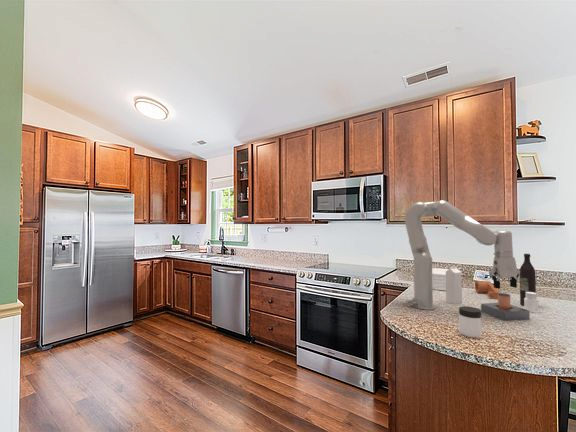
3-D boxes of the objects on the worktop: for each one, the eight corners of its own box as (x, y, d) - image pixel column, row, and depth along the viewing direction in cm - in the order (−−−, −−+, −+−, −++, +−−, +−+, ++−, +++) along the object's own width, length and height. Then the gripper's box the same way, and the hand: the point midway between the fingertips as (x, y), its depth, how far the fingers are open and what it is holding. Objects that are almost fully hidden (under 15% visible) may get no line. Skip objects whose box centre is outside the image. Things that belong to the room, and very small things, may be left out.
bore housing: (504, 322, 137) (504, 311, 137) (481, 312, 151) (481, 303, 151) (529, 320, 139) (529, 310, 139) (504, 311, 153) (504, 302, 153)
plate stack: (468, 287, 210) (468, 271, 210) (449, 292, 194) (449, 276, 195) (431, 280, 233) (431, 266, 234) (412, 285, 218) (412, 270, 218)
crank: (474, 290, 199) (474, 279, 199) (487, 291, 197) (487, 280, 197) (486, 298, 180) (486, 285, 180) (500, 299, 178) (500, 286, 178)
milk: (462, 303, 168) (461, 266, 168) (455, 304, 166) (454, 267, 166) (452, 301, 174) (452, 265, 174) (445, 302, 171) (445, 265, 171)
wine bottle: (519, 302, 169) (518, 252, 169) (535, 304, 165) (534, 253, 165) (520, 305, 163) (519, 254, 164) (537, 307, 159) (535, 254, 160)
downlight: (540, 314, 148) (539, 295, 148) (522, 311, 153) (522, 293, 153) (539, 310, 154) (539, 292, 154) (523, 308, 159) (522, 290, 159)
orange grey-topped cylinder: (504, 316, 142) (504, 295, 142) (495, 313, 147) (495, 293, 147) (513, 316, 143) (512, 295, 143) (504, 312, 148) (503, 292, 148)
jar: (461, 331, 126) (460, 304, 126) (482, 336, 121) (482, 308, 121) (457, 337, 119) (457, 309, 119) (480, 343, 114) (480, 313, 114)
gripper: (495, 256, 140) (496, 290, 140) (525, 254, 143) (527, 288, 142) (482, 254, 148) (484, 287, 147) (511, 253, 150) (513, 285, 150)
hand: (505, 287), depth 145 cm, fingers open, 9 cm apart
